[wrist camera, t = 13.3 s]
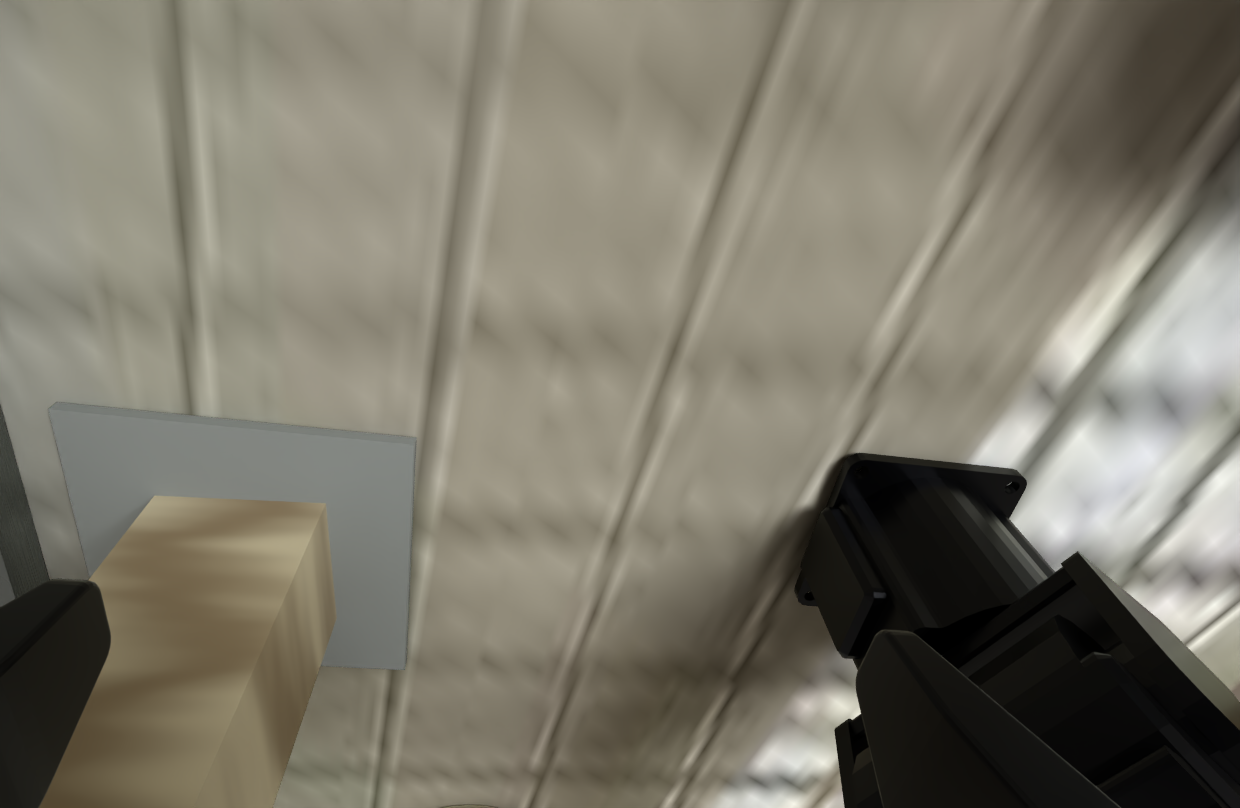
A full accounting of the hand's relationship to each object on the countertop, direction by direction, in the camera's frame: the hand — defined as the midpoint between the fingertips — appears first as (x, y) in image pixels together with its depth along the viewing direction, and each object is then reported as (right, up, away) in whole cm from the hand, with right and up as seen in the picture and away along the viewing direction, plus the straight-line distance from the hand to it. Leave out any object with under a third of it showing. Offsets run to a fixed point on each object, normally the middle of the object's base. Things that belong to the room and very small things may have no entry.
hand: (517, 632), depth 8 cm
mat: (-11, -2, +15) cm, 19 cm away
